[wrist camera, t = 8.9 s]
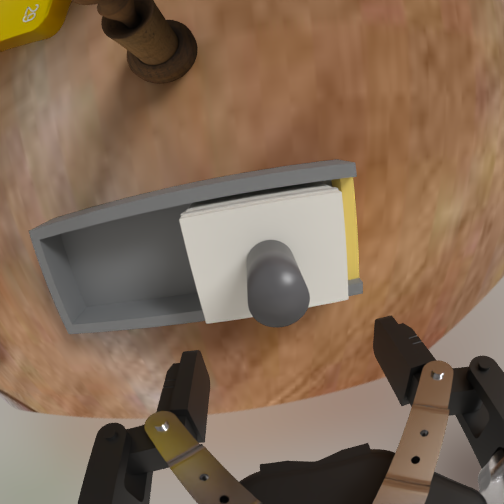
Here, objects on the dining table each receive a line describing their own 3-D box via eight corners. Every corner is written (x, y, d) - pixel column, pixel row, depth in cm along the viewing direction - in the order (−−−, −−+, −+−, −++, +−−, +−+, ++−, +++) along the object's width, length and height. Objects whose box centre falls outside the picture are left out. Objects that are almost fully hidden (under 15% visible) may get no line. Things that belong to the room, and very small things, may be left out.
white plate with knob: (192, 200, 28) (155, 244, 16) (319, 179, 28) (376, 207, 16) (212, 287, 31) (197, 372, 19) (328, 267, 31) (375, 341, 19)
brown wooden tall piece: (149, 95, 26) (43, 50, 9) (124, 49, 24) (21, -18, 7) (208, 62, 25) (167, -34, 8) (181, 16, 23) (124, -88, 6)
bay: (52, 218, 29) (28, 231, 25) (337, 159, 28) (355, 162, 24) (85, 312, 34) (68, 334, 29) (347, 272, 33) (362, 293, 28)
